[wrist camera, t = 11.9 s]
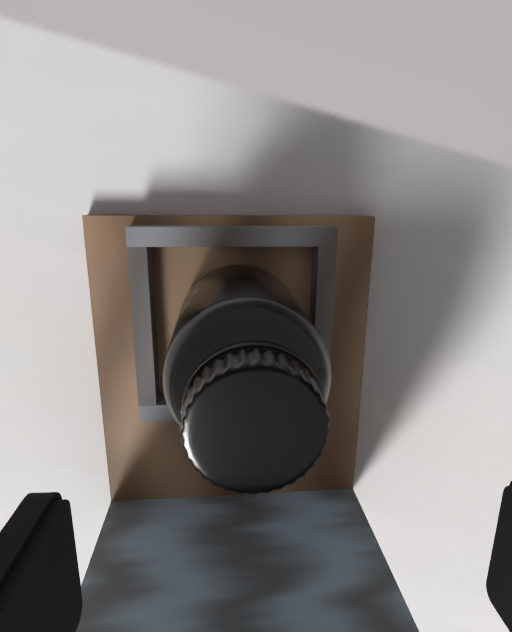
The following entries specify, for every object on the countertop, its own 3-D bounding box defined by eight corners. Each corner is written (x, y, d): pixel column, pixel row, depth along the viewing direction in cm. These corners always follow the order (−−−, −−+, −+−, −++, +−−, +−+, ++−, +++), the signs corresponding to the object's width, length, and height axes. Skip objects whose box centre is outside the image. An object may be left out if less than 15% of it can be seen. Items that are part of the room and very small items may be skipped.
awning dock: (368, 215, 25) (694, 252, 8) (347, 497, 30) (512, 882, 13) (87, 214, 23) (-256, 255, 6) (116, 509, 28) (-31, 958, 12)
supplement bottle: (161, 284, 24) (109, 367, 12) (277, 247, 24) (334, 293, 12) (202, 389, 26) (191, 547, 14) (309, 354, 26) (384, 483, 14)
